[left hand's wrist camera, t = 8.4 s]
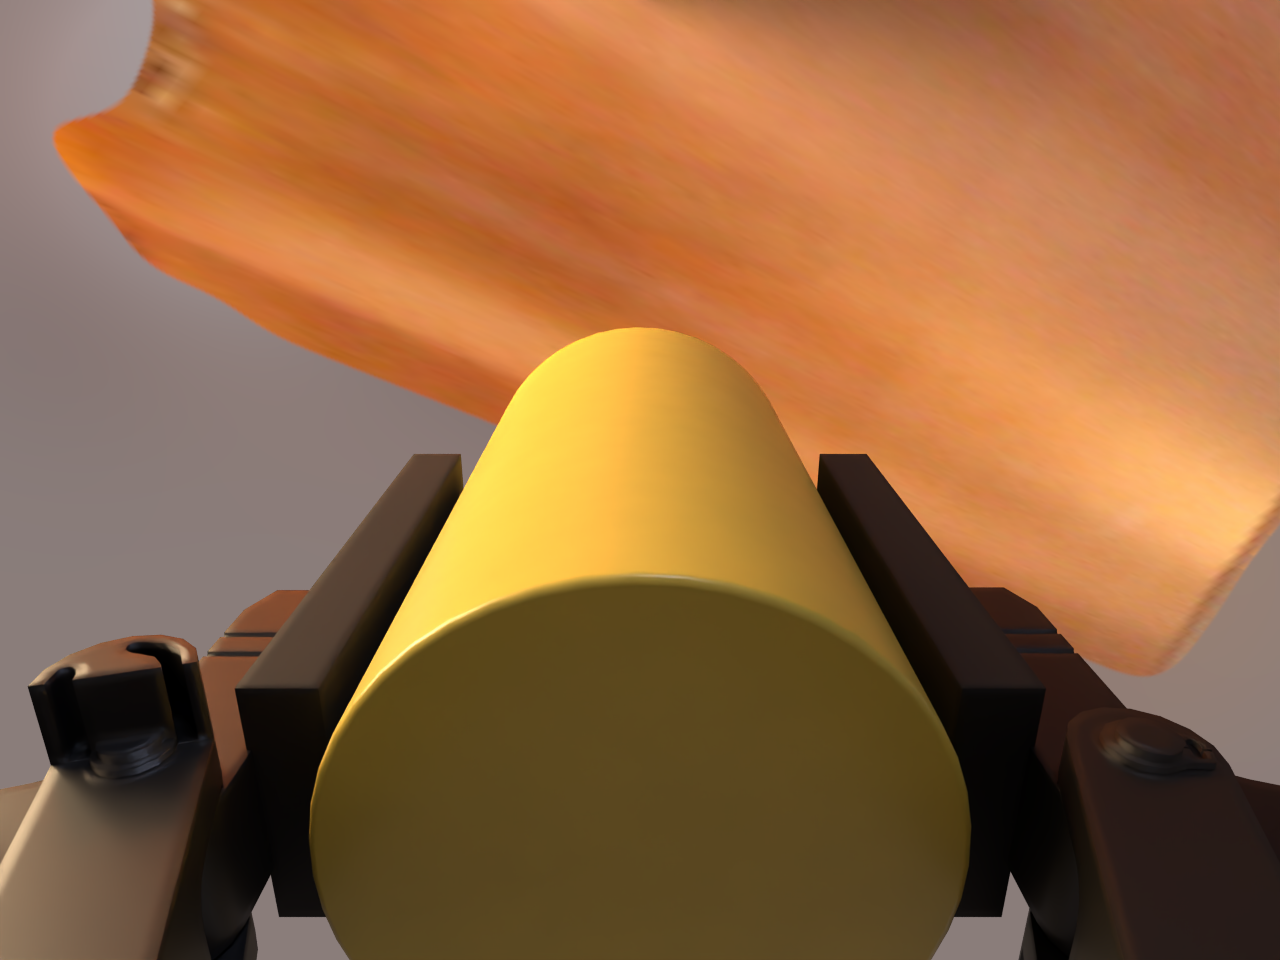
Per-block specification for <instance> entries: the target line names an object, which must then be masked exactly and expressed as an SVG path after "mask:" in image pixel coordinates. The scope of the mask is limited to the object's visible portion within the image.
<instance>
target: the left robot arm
mask: <svg viewBox="0 0 1280 960" xmlns="http://www.w3.org/2000/svg"><path fill="white" fill-rule="evenodd" d="M462 491H463V477H462V464H461V454H414V455H413V456H412V457H411V459H410V460H409V461H408V463H407V464H406V465H405V467H404V468H403V469H402V470H401V472H400V473H399V474H398V476H397V477H396V478H395V480H394V481H393V482H392V484H391V485H390V486H389V487H388V489H387V490H386V491H385V493H384V494H383V495H382V497H381V498H380V499H379V500H378V502H377V503H376V504H375V506H374V507H373V508H372V510H371V511H370V512H369V514H368V515H367V516H366V517H365V519H364V520H363V521H362V523H361V524H360V525H359V527H358V528H357V529H356V530H355V532H354V533H353V534H352V536H351V537H350V538H349V540H348V541H347V542H346V544H345V545H344V546H343V547H342V549H341V550H340V551H339V553H338V554H337V555H336V557H335V558H334V559H333V560H332V562H331V563H330V564H329V566H328V567H327V568H326V570H325V571H324V572H323V573H322V575H321V576H320V577H319V579H318V580H317V581H316V583H315V584H314V585H313V587H312V588H311V589H310V590H277V591H275V592H274V593H272V594H270V595H269V596H267V597H265V598H263V599H262V600H260V601H258V602H257V603H255V604H253V605H252V606H250V607H248V608H247V609H245V610H244V611H243V612H242V613H241V614H240V615H239V616H238V618H237V619H236V620H235V621H234V622H233V623H232V624H231V626H230V627H229V628H228V629H227V630H226V631H225V633H224V637H220V638H219V639H218V640H217V642H216V643H215V644H214V645H213V646H212V647H211V648H210V649H209V651H208V655H207V657H202V659H201V660H200V661H199V660H198V656H197V651H196V648H195V647H194V646H192V645H191V644H190V643H188V642H187V641H185V640H184V639H181V638H175V637H170V636H165V635H147V636H132V637H127V638H122V639H117V640H113V641H108V642H104V643H100V644H97V645H94V646H92V647H89V648H86V649H84V650H81V651H78V652H76V653H73V654H70V655H69V656H67V657H65V658H63V659H62V660H60V661H58V662H57V663H55V664H53V665H52V666H50V667H48V668H46V669H45V670H44V671H43V672H42V673H41V674H40V675H39V676H38V677H37V678H36V679H35V680H34V681H33V682H32V683H31V684H30V685H29V686H28V689H29V692H30V696H31V699H32V702H33V706H34V709H35V713H36V716H37V720H38V723H39V726H40V730H41V733H42V736H43V740H44V743H45V747H46V750H47V754H48V757H49V760H50V764H51V767H50V769H49V771H48V773H47V774H46V776H45V778H44V780H42V781H39V782H35V783H30V784H25V785H20V786H15V787H10V788H5V789H0V960H256V959H257V951H258V947H257V940H256V932H255V927H254V922H253V918H252V913H251V912H252V910H253V908H254V906H255V904H256V902H257V900H258V898H259V896H260V894H261V892H262V890H263V888H264V887H265V885H266V883H267V881H268V879H269V877H270V875H271V878H272V883H273V888H274V893H275V898H276V904H277V909H278V914H279V917H326V916H325V913H324V911H323V909H322V906H321V902H320V899H319V895H318V892H317V888H316V885H315V881H314V878H313V870H312V862H311V853H310V845H309V826H310V807H311V799H312V795H313V790H314V786H315V782H316V777H317V773H318V768H319V766H320V763H321V761H322V758H323V756H324V754H325V751H326V749H327V746H328V744H329V741H330V739H331V736H332V734H333V732H334V730H335V728H336V727H337V725H338V723H339V721H340V719H341V717H342V715H343V714H344V712H345V710H346V708H347V706H348V704H349V702H350V700H351V699H352V697H353V695H354V693H355V691H356V689H357V687H358V685H359V684H360V682H361V680H362V678H363V676H364V674H365V672H366V671H367V669H368V667H369V665H370V663H371V661H372V659H373V657H374V656H375V654H376V652H377V650H378V648H379V646H380V644H381V643H382V641H383V639H384V637H385V635H386V633H387V631H388V629H389V628H390V626H391V624H392V622H393V620H394V618H395V616H396V614H397V613H398V611H399V609H400V607H401V605H402V603H403V601H404V600H405V598H406V596H407V594H408V592H409V590H410V588H411V586H412V585H413V583H414V581H415V579H416V577H417V575H418V573H419V572H420V570H421V568H422V566H423V564H424V562H425V560H426V558H427V557H428V555H429V553H430V551H431V549H432V547H433V545H434V543H435V542H436V540H437V538H438V536H439V534H440V532H441V530H442V529H443V527H444V525H445V523H446V521H447V519H448V517H449V515H450V514H451V512H452V510H453V508H454V506H455V504H456V502H457V501H458V499H459V497H460V495H461V493H462ZM817 491H818V493H819V495H820V497H821V499H822V500H823V502H824V504H825V506H826V508H827V510H828V512H829V514H830V515H831V517H832V519H833V521H834V523H835V525H836V527H837V528H838V530H839V532H840V534H841V536H842V538H843V540H844V542H845V543H846V545H847V547H848V549H849V551H850V553H851V555H852V556H853V558H854V560H855V562H856V564H857V566H858V568H859V570H860V571H861V573H862V575H863V577H864V579H865V581H866V583H867V584H868V586H869V588H870V590H871V592H872V594H873V596H874V598H875V599H876V601H877V603H878V605H879V607H880V609H881V611H882V613H883V614H884V616H885V618H886V620H887V622H888V624H889V626H890V627H891V629H892V631H893V633H894V635H895V637H896V639H897V641H898V642H899V644H900V646H901V648H902V650H903V652H904V654H905V655H906V657H907V659H908V661H909V663H910V665H911V667H912V669H913V670H914V672H915V674H916V676H917V678H918V680H919V682H920V683H921V685H922V687H923V689H924V691H925V693H926V695H927V697H928V698H929V700H930V702H931V704H932V706H933V708H934V710H935V711H936V713H937V715H938V717H939V719H940V721H941V723H942V725H943V727H944V729H945V731H946V733H947V735H948V737H949V739H950V742H951V744H952V746H953V748H954V750H955V752H956V754H957V756H958V759H959V763H960V767H961V770H962V774H963V777H964V781H965V784H966V788H967V791H968V800H969V809H970V819H971V839H970V856H969V867H968V872H967V876H966V880H965V885H964V889H963V893H962V898H961V901H960V903H959V905H958V908H957V910H956V913H955V915H954V917H1002V912H1003V907H1004V902H1005V896H1006V891H1007V886H1008V881H1009V876H1010V871H1011V873H1012V875H1013V877H1014V879H1015V881H1016V883H1017V885H1018V887H1019V889H1020V891H1021V892H1022V894H1023V896H1024V898H1025V900H1026V902H1027V904H1028V906H1029V913H1028V918H1027V923H1026V927H1025V932H1024V937H1023V941H1022V946H1021V951H1020V956H1019V960H1280V785H1275V784H1270V783H1265V782H1260V781H1254V780H1250V779H1246V778H1242V777H1238V776H1235V775H1234V773H1233V771H1232V769H1231V767H1230V765H1229V764H1228V762H1227V761H1226V760H1225V759H1224V758H1223V756H1222V755H1221V754H1220V753H1219V751H1218V750H1217V749H1216V748H1215V747H1214V746H1213V745H1212V744H1210V743H1209V742H1207V741H1206V740H1205V739H1203V738H1202V737H1200V736H1199V735H1197V734H1196V733H1194V732H1193V731H1192V730H1190V729H1188V728H1186V727H1183V726H1181V725H1179V724H1177V723H1174V722H1172V721H1170V720H1168V719H1165V718H1163V717H1161V716H1157V715H1153V714H1149V713H1145V712H1141V711H1137V710H1133V709H1127V708H1126V707H1125V706H1124V705H1123V704H1122V703H1121V701H1120V700H1119V699H1118V698H1117V697H1116V696H1115V695H1114V694H1113V692H1112V691H1111V690H1110V689H1109V688H1108V687H1107V686H1106V684H1105V683H1104V682H1103V681H1102V680H1101V679H1100V678H1099V677H1098V675H1097V674H1096V673H1095V672H1094V671H1093V670H1092V669H1091V668H1090V666H1089V665H1088V664H1087V663H1086V662H1085V661H1084V660H1083V659H1082V657H1081V656H1080V655H1079V654H1078V653H1074V648H1073V647H1072V646H1071V645H1070V644H1069V643H1068V642H1067V640H1066V639H1065V638H1064V637H1063V636H1062V635H1061V634H1057V629H1056V628H1055V627H1054V626H1053V625H1052V624H1051V622H1050V621H1049V620H1048V619H1047V618H1046V617H1045V616H1044V614H1043V613H1042V612H1041V611H1040V610H1039V609H1038V608H1037V607H1036V606H1034V605H1033V604H1031V603H1029V602H1028V601H1026V600H1024V599H1022V598H1021V597H1019V596H1017V595H1016V594H1014V593H1012V592H1011V591H1009V590H1007V589H1005V588H969V587H968V586H967V584H966V583H965V582H964V580H963V579H962V578H961V577H960V575H959V574H958V573H957V571H956V570H955V569H954V567H953V566H952V565H951V564H950V562H949V561H948V560H947V558H946V557H945V556H944V554H943V553H942V552H941V551H940V549H939V548H938V547H937V545H936V544H935V543H934V541H933V540H932V539H931V537H930V536H929V535H928V534H927V532H926V531H925V530H924V528H923V527H922V526H921V524H920V523H919V522H918V521H917V519H916V518H915V517H914V515H913V514H912V513H911V511H910V510H909V509H908V507H907V506H906V505H905V504H904V502H903V501H902V500H901V498H900V497H899V496H898V494H897V493H896V492H895V491H894V489H893V488H892V487H891V485H890V484H889V483H888V481H887V480H886V479H885V477H884V476H883V475H882V474H881V472H880V471H879V470H878V468H877V467H876V466H875V464H874V463H873V462H872V461H871V459H870V458H869V457H868V455H867V454H820V459H819V472H818V484H817Z"/></svg>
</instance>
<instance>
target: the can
mask: <svg viewBox="0 0 1280 960" xmlns="http://www.w3.org/2000/svg"><path fill="white" fill-rule="evenodd" d="M970 839H971V819H970V809H969V800H968V791H967V788H966V784H965V781H964V777H963V774H962V770H961V767H960V763H959V759H958V756H957V754H956V752H955V750H954V748H953V746H952V744H951V742H950V739H949V737H948V735H947V733H946V731H945V729H944V727H943V725H942V723H941V721H940V719H939V717H938V715H937V713H936V711H935V710H934V708H933V706H932V704H931V702H930V700H929V698H928V697H927V695H926V693H925V691H924V689H923V687H922V685H921V683H920V682H919V680H918V678H917V676H916V674H915V672H914V670H913V669H912V667H911V665H910V663H909V661H908V659H907V657H906V655H905V654H904V652H903V650H902V648H901V646H900V644H899V642H898V641H897V639H896V637H895V635H894V633H893V631H892V629H891V627H890V626H889V624H888V622H887V620H886V618H885V616H884V614H883V613H882V611H881V609H880V607H879V605H878V603H877V601H876V599H875V598H874V596H873V594H872V592H871V590H870V588H869V586H868V584H867V583H866V581H865V579H864V577H863V575H862V573H861V571H860V570H859V568H858V566H857V564H856V562H855V560H854V558H853V556H852V555H851V553H850V551H849V549H848V547H847V545H846V543H845V542H844V540H843V538H842V536H841V534H840V532H839V530H838V528H837V527H836V525H835V523H834V521H833V519H832V517H831V515H830V514H829V512H828V510H827V508H826V506H825V504H824V502H823V500H822V499H821V497H820V495H819V493H818V491H817V489H816V487H815V486H814V484H813V482H812V480H811V478H810V476H809V474H808V472H807V471H806V469H805V467H804V465H803V463H802V461H801V459H800V458H799V456H798V454H797V452H796V450H795V448H794V446H793V444H792V443H791V441H790V439H789V437H788V435H787V433H786V431H785V429H784V428H783V426H782V424H781V422H780V420H779V418H778V416H777V415H776V413H775V411H774V409H773V407H772V405H771V403H770V401H769V400H768V398H767V397H766V395H765V394H764V392H763V391H762V389H761V388H760V386H759V385H758V383H757V382H756V381H755V380H754V379H753V378H752V377H751V375H750V374H749V373H748V372H747V371H746V370H745V369H744V368H743V367H742V366H740V365H739V364H738V363H737V362H736V361H735V360H733V359H732V358H731V357H730V356H728V355H727V354H725V353H724V352H722V351H720V350H719V349H717V348H716V347H714V346H712V345H710V344H708V343H706V342H704V341H702V340H699V339H697V338H695V337H692V336H689V335H685V334H682V333H679V332H675V331H669V330H664V329H658V328H639V327H635V328H624V329H615V330H610V331H606V332H601V333H597V334H594V335H591V336H589V337H586V338H583V339H580V340H578V341H576V342H574V343H572V344H570V345H568V346H566V347H564V348H562V349H561V350H559V351H558V352H556V353H555V354H553V355H552V356H551V357H549V358H548V359H546V360H545V361H544V362H543V363H542V364H541V365H540V366H538V367H537V368H536V369H535V370H534V371H533V372H532V373H531V374H530V375H529V376H528V378H527V379H526V380H525V381H524V383H523V384H522V385H521V386H520V387H519V389H518V390H517V392H516V394H515V395H514V397H513V399H512V400H511V402H510V404H509V405H508V407H507V409H506V411H505V413H504V415H503V416H502V418H501V420H500V422H499V424H498V426H497V428H496V430H495V431H494V433H493V435H492V437H491V439H490V441H489V443H488V444H487V446H486V448H485V450H484V452H483V454H482V456H481V458H480V459H479V461H478V463H477V465H476V467H475V469H474V471H473V472H472V474H471V476H470V478H469V480H468V482H467V484H466V486H465V488H464V489H463V491H462V493H461V495H460V497H459V499H458V501H457V502H456V504H455V506H454V508H453V510H452V512H451V514H450V515H449V517H448V519H447V521H446V523H445V525H444V527H443V529H442V530H441V532H440V534H439V536H438V538H437V540H436V542H435V543H434V545H433V547H432V549H431V551H430V553H429V555H428V557H427V558H426V560H425V562H424V564H423V566H422V568H421V570H420V572H419V573H418V575H417V577H416V579H415V581H414V583H413V585H412V586H411V588H410V590H409V592H408V594H407V596H406V598H405V600H404V601H403V603H402V605H401V607H400V609H399V611H398V613H397V614H396V616H395V618H394V620H393V622H392V624H391V626H390V628H389V629H388V631H387V633H386V635H385V637H384V639H383V641H382V643H381V644H380V646H379V648H378V650H377V652H376V654H375V656H374V657H373V659H372V661H371V663H370V665H369V667H368V669H367V671H366V672H365V674H364V676H363V678H362V680H361V682H360V684H359V685H358V687H357V689H356V691H355V693H354V695H353V697H352V699H351V700H350V702H349V704H348V706H347V708H346V710H345V712H344V714H343V715H342V717H341V719H340V721H339V723H338V725H337V727H336V728H335V730H334V732H333V734H332V736H331V739H330V741H329V744H328V746H327V749H326V751H325V754H324V756H323V758H322V761H321V763H320V766H319V768H318V773H317V777H316V782H315V786H314V790H313V795H312V799H311V807H310V826H309V845H310V853H311V862H312V870H313V878H314V881H315V885H316V888H317V892H318V895H319V899H320V902H321V906H322V909H323V911H324V913H325V916H326V918H327V920H328V922H329V924H330V926H331V929H332V931H333V933H334V935H335V937H336V939H337V941H338V943H339V944H340V945H341V947H342V949H343V950H344V952H345V953H346V955H347V956H348V958H349V959H350V960H931V959H932V957H933V956H934V954H935V952H936V950H937V949H938V947H939V945H940V944H941V942H942V940H943V939H944V937H945V935H946V934H947V932H948V930H949V928H950V925H951V923H952V920H953V918H954V915H955V913H956V910H957V908H958V905H959V903H960V901H961V898H962V893H963V889H964V885H965V880H966V876H967V872H968V867H969V856H970Z"/></svg>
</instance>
